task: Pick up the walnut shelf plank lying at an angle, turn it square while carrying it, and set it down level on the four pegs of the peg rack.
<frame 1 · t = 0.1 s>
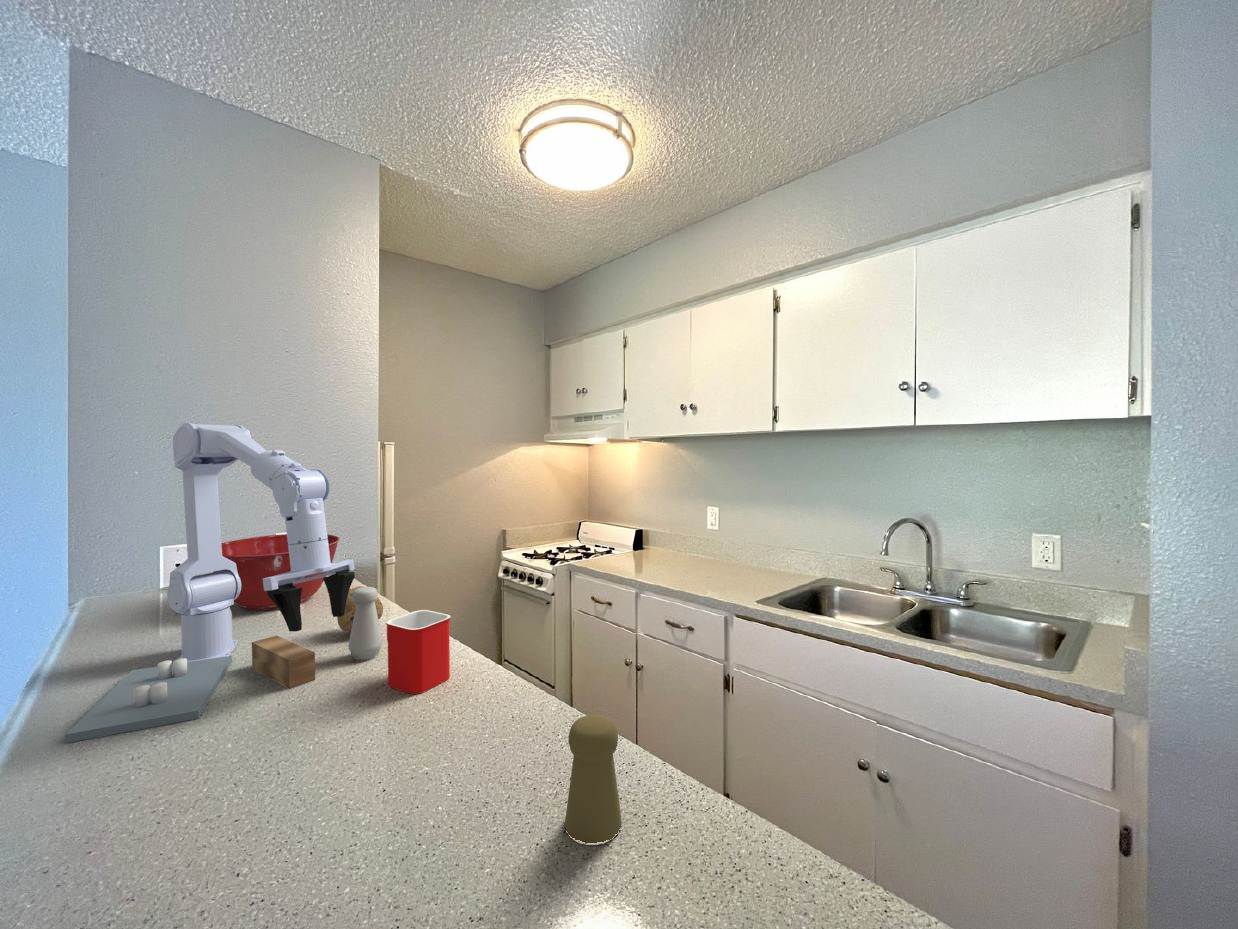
hand: (318, 623, 85), 10 cm above the countertop, tool pointing down, fingers open, 7 cm apart
natural sponge: (359, 634, 109), on the countertop
shelf plank: (282, 675, 89), on the countertop
peg rack: (162, 696, 81), on the countertop
olive pawn: (593, 825, 54), on the countertop
mug: (412, 680, 88), on the countertop
mixing bowl: (276, 603, 131), on the countertop
salt shaker: (365, 657, 97), on the countertop
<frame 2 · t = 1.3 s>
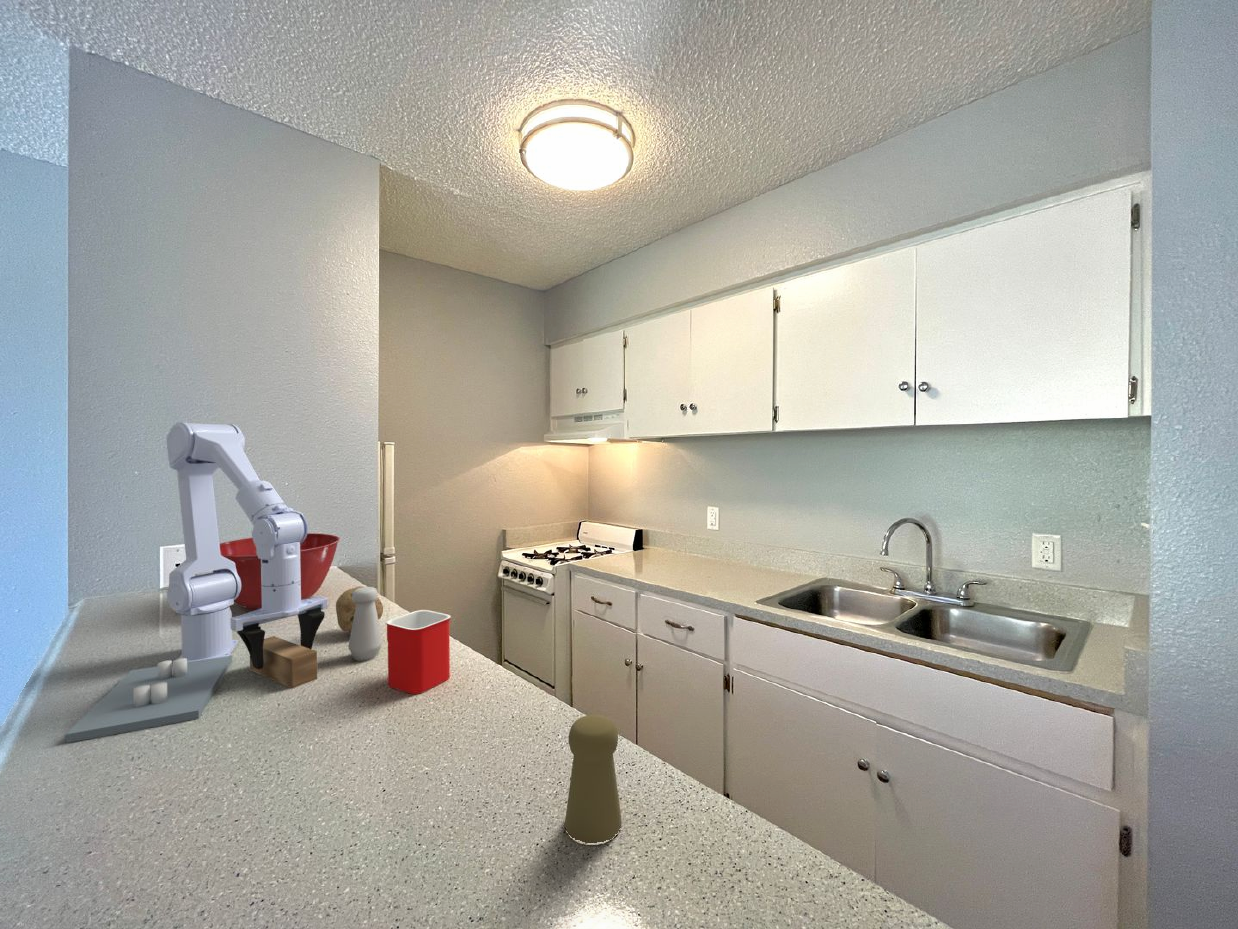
hand: (282, 659, 89), 3 cm above the countertop, tool pointing down, fingers open, 7 cm apart
nothing on the countertop moved.
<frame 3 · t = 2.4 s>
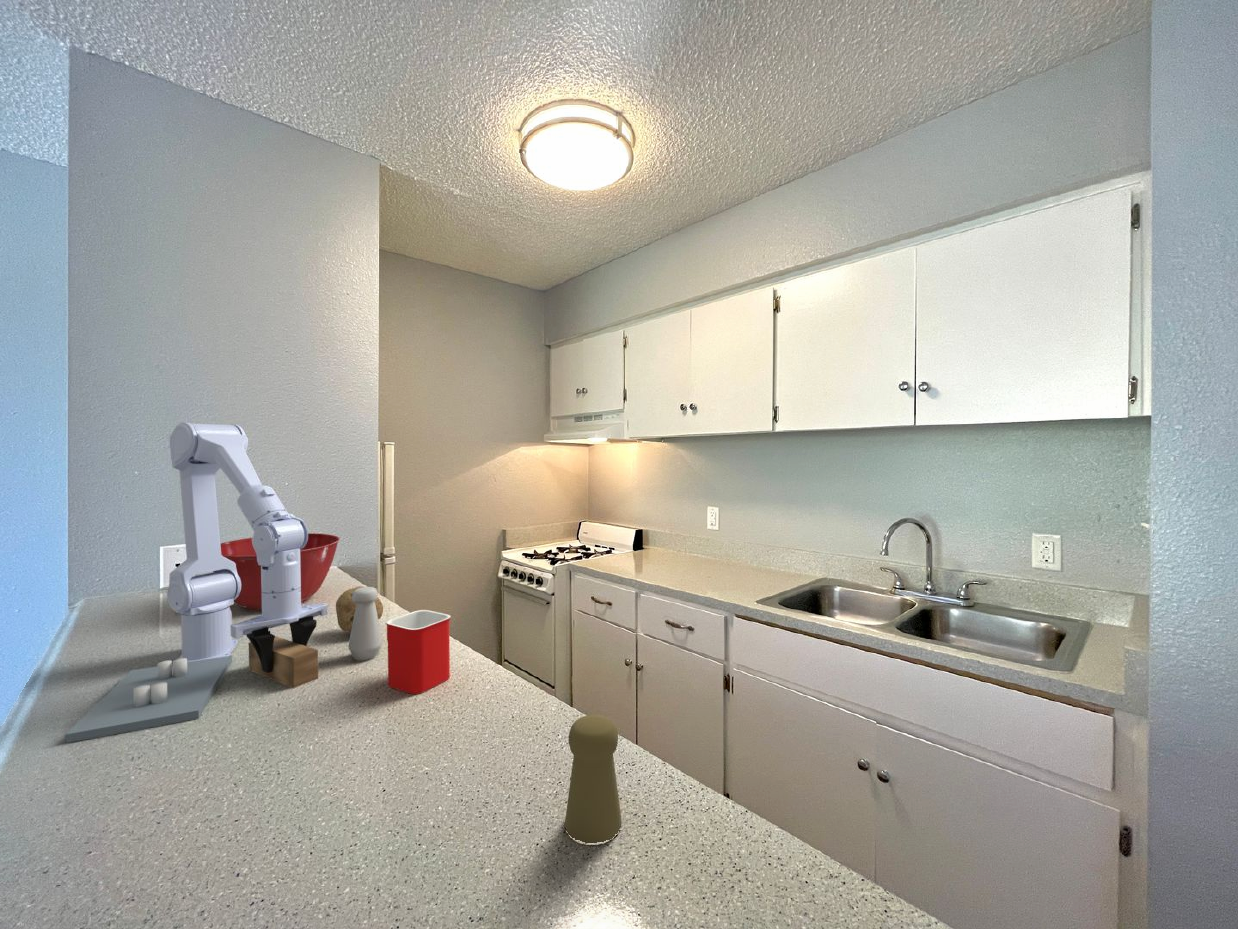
hand: (282, 666, 89), 1 cm above the countertop, tool pointing down, fingers closed on shelf plank, 4 cm apart
shelf plank: (283, 674, 89), on the countertop, touching gripper
everything else where it was.
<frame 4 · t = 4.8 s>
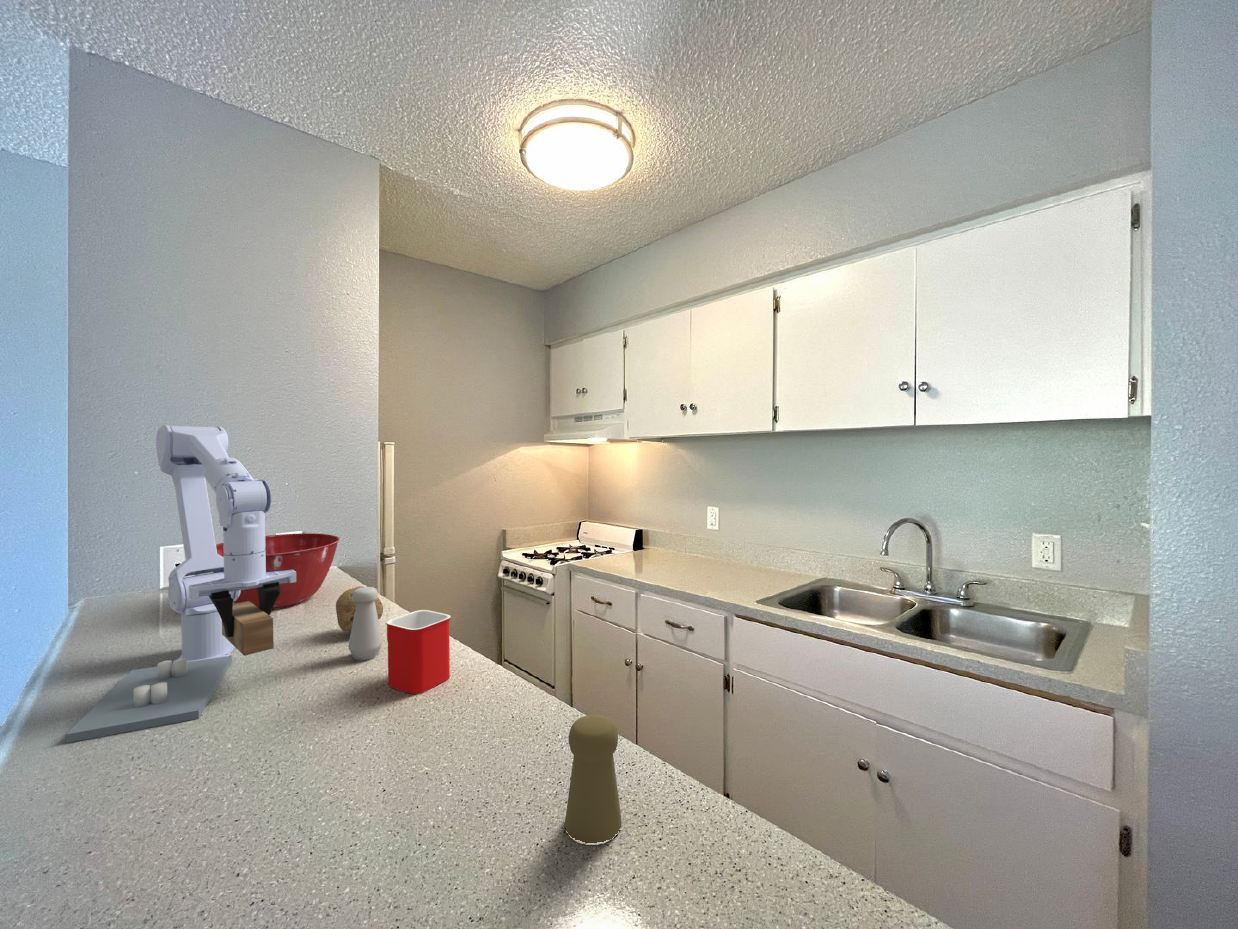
hand: (246, 631, 87), 8 cm above the countertop, tool pointing down, fingers closed on shelf plank, 4 cm apart
shelf plank: (246, 641, 87), point 7 cm above the countertop, touching gripper
everything else where it was.
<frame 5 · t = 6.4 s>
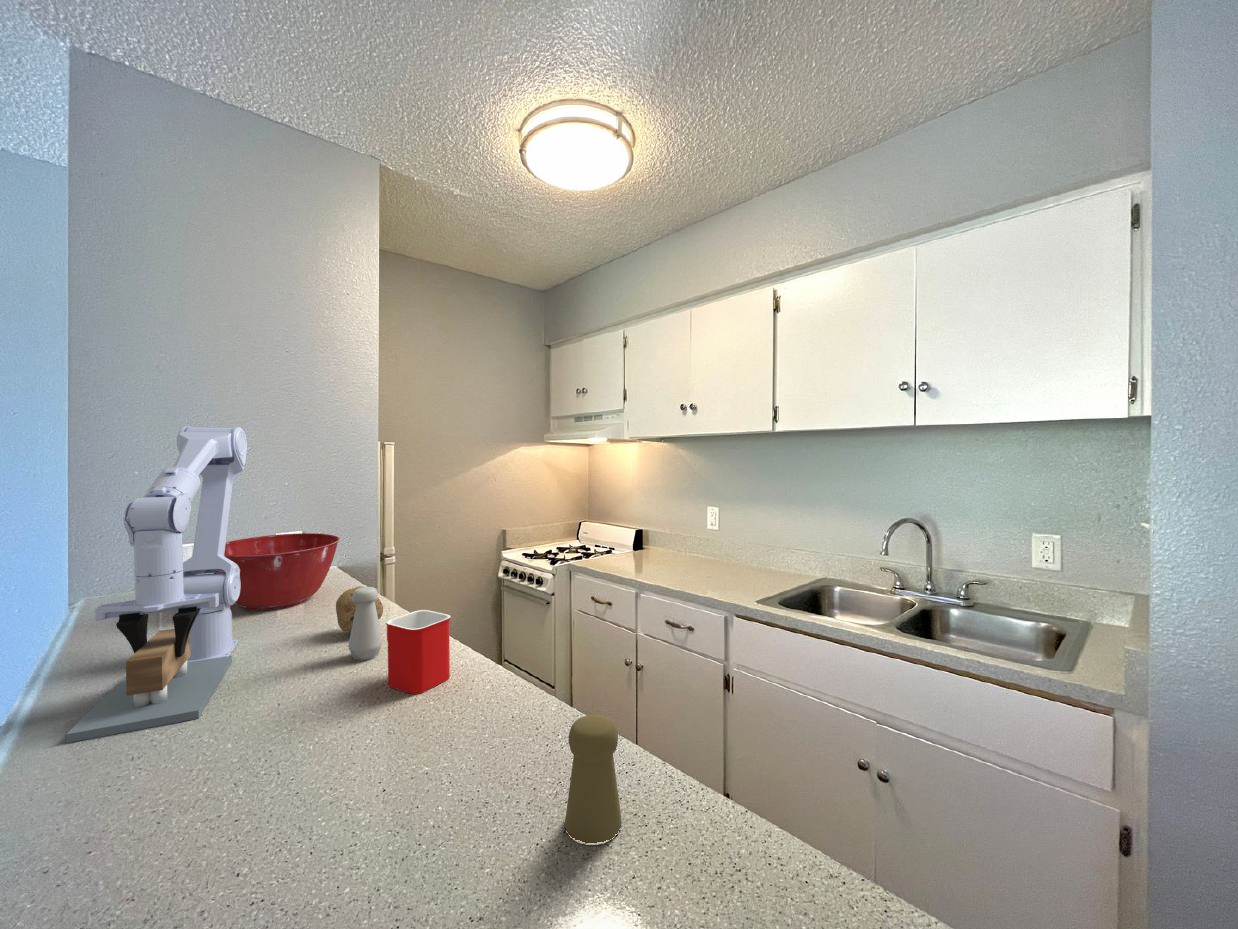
hand: (161, 657, 81), 6 cm above the countertop, tool pointing down, fingers closed on shelf plank, 4 cm apart
shelf plank: (161, 674, 81), point 4 cm above the countertop, touching gripper, peg rack
everything else where it was.
when the fingers open (6 cm above the countertop, at t = 7.3 s): shelf plank stays where it is, resting on peg rack.
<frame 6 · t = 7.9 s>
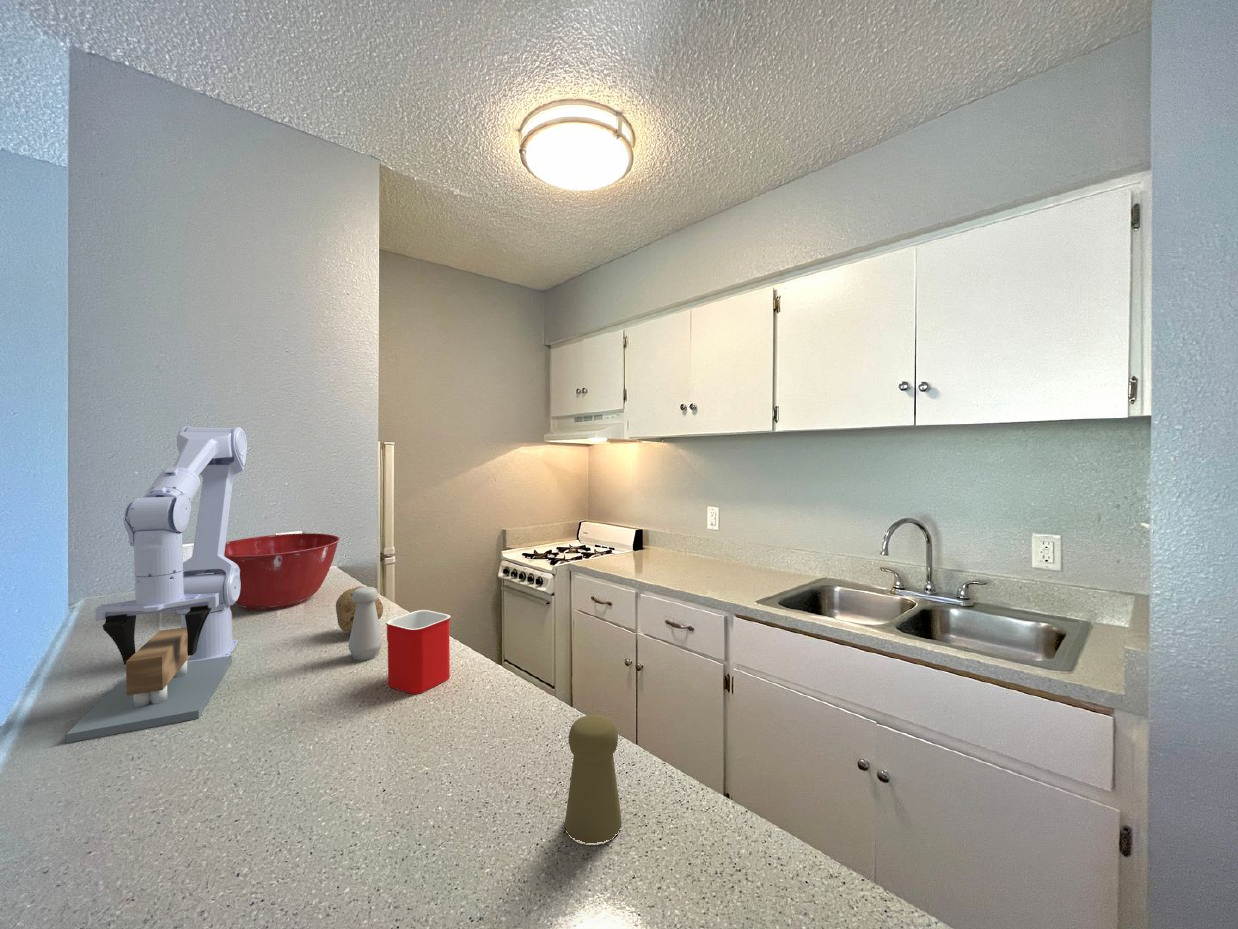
hand: (161, 657, 81), 6 cm above the countertop, tool pointing down, fingers open, 7 cm apart
shelf plank: (161, 674, 81), point 4 cm above the countertop, touching peg rack
everything else where it was.
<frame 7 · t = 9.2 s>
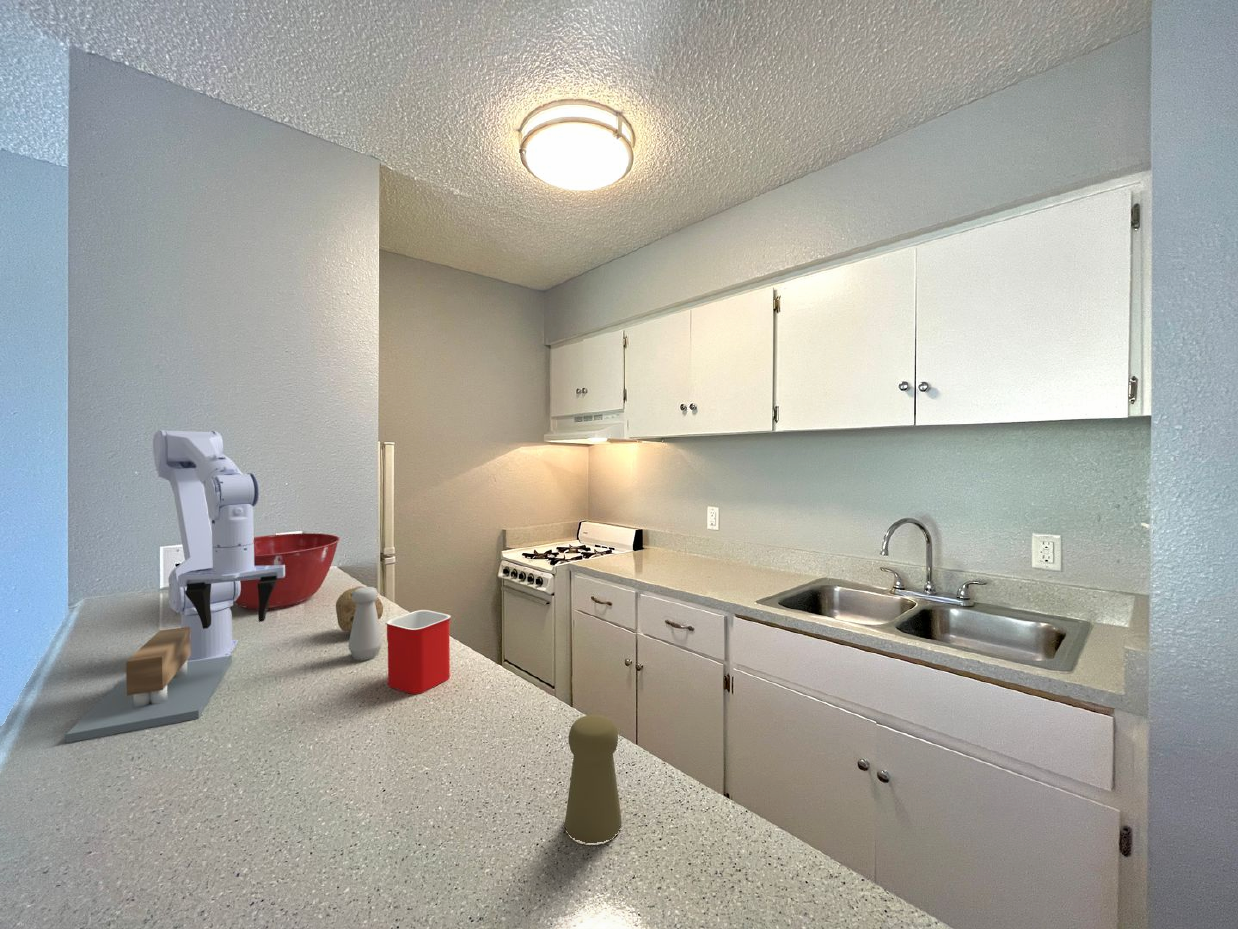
hand: (235, 623, 88), 9 cm above the countertop, tool pointing down, fingers open, 7 cm apart
nothing on the countertop moved.
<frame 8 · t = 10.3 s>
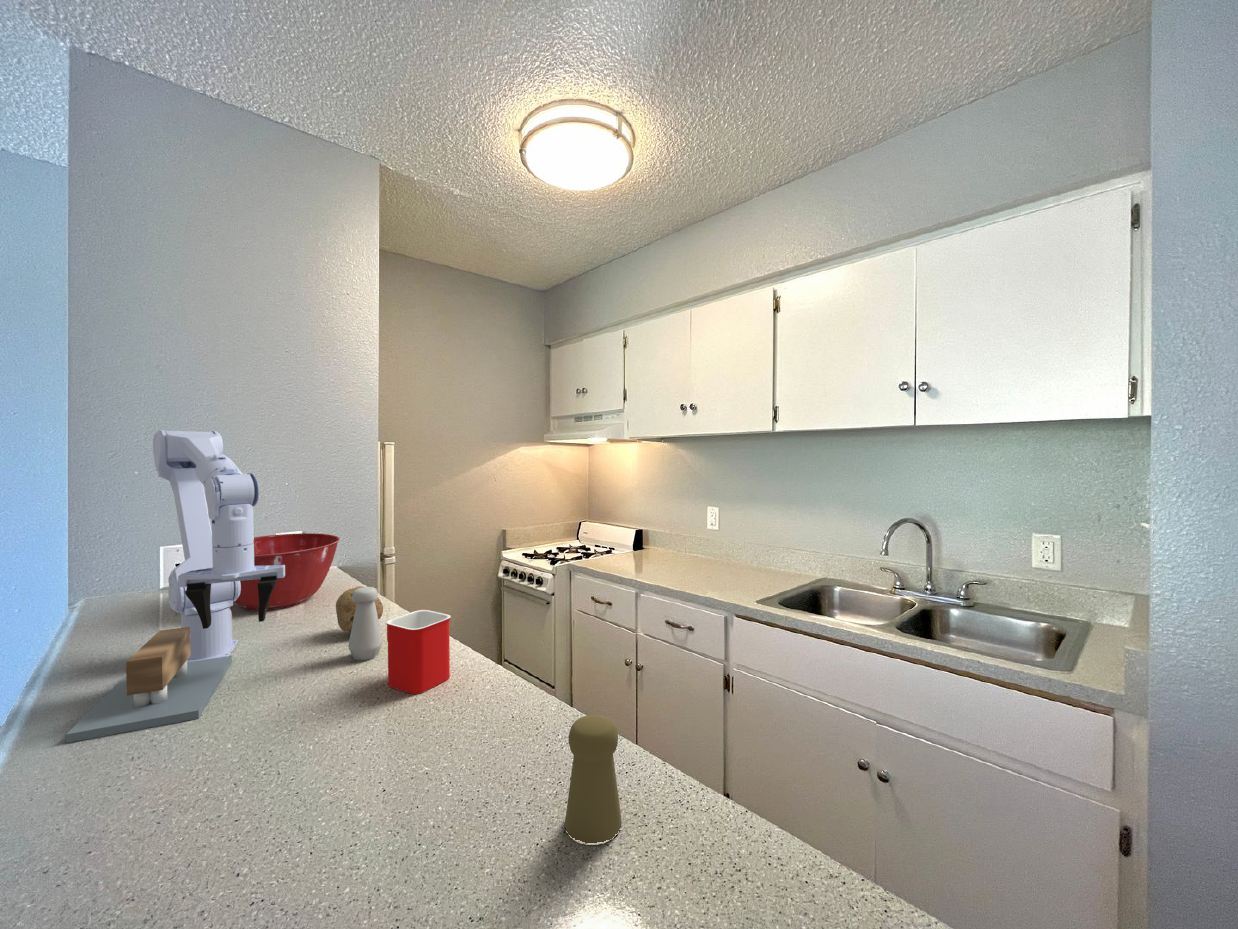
hand: (235, 623, 88), 9 cm above the countertop, tool pointing down, fingers open, 7 cm apart
nothing on the countertop moved.
at the end: shelf plank 0.3 cm off-centre on the peg rack, point 3.7 cm above the peg rack's base; shelf plank tilted 0°; the gripper is holding nothing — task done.
